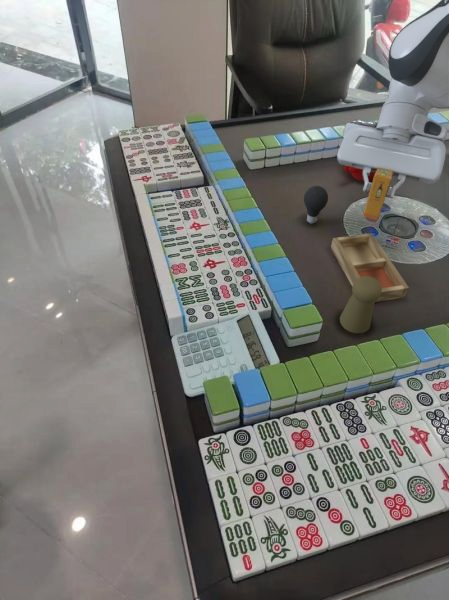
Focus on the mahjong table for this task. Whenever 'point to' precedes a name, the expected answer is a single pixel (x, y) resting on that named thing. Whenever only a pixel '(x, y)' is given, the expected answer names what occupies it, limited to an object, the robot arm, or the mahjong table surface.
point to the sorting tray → (369, 264)
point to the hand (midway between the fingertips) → (377, 194)
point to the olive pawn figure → (361, 305)
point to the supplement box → (377, 193)
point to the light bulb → (315, 202)
